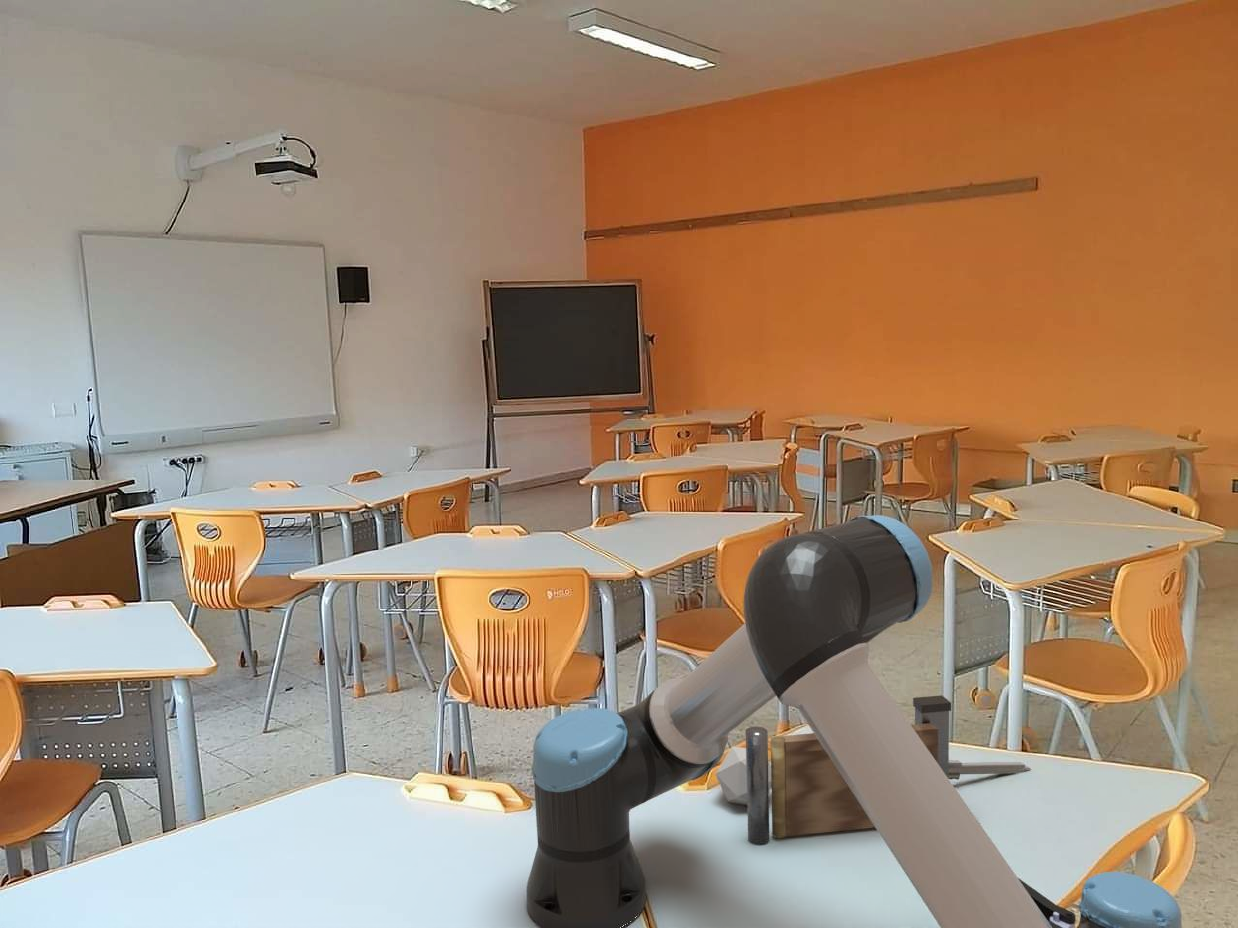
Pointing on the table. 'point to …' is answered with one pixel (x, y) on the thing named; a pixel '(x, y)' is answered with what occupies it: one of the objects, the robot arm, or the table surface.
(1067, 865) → the table surface
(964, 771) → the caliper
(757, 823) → the hinge post
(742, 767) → the die
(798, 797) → the gate
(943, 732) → the post
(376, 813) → the table surface
